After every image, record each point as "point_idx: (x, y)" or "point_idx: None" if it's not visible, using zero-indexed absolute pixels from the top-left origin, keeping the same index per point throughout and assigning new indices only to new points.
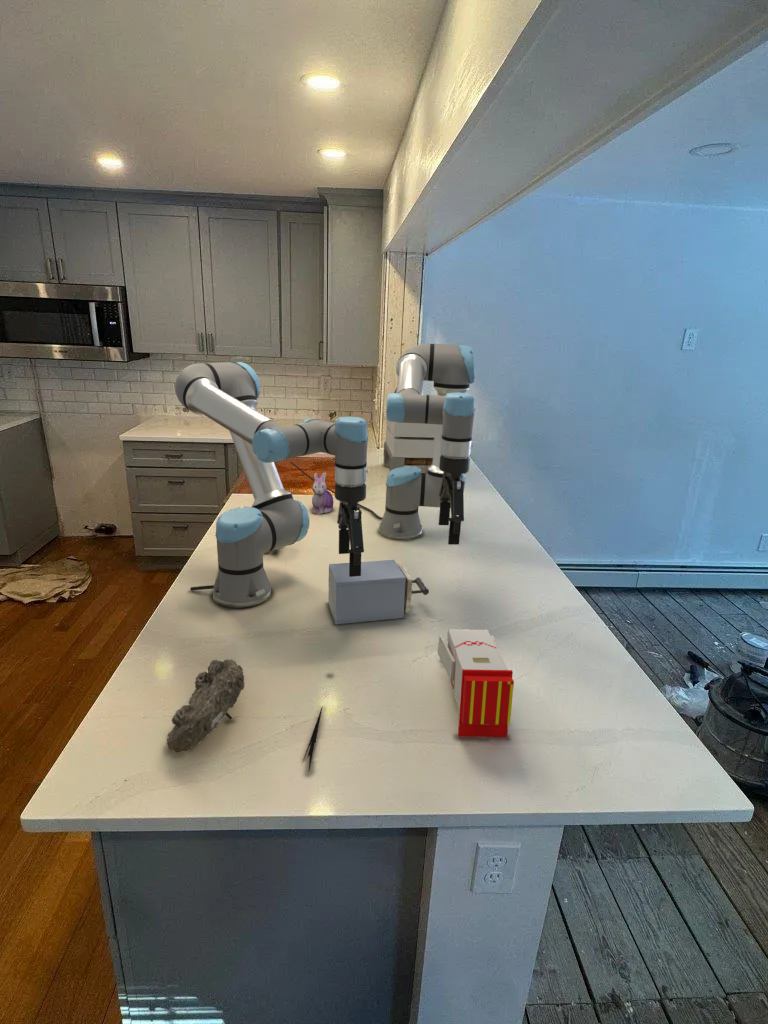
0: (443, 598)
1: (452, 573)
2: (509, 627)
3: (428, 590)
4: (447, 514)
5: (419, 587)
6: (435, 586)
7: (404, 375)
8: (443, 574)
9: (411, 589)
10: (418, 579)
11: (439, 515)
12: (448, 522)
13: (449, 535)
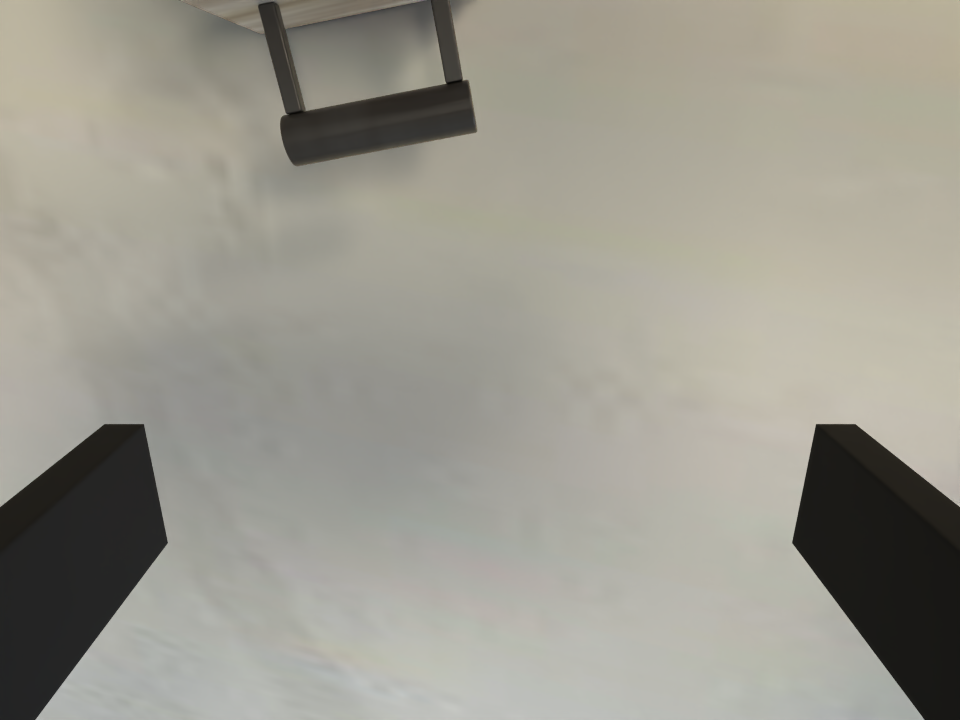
0: (485, 279)
1: (788, 388)
2: (213, 526)
3: (291, 161)
4: (893, 636)
5: (353, 102)
6: (634, 258)
7: None
8: (784, 334)
9: (189, 2)
10: (437, 105)
11: (935, 502)
12: (812, 564)
13: (19, 496)
